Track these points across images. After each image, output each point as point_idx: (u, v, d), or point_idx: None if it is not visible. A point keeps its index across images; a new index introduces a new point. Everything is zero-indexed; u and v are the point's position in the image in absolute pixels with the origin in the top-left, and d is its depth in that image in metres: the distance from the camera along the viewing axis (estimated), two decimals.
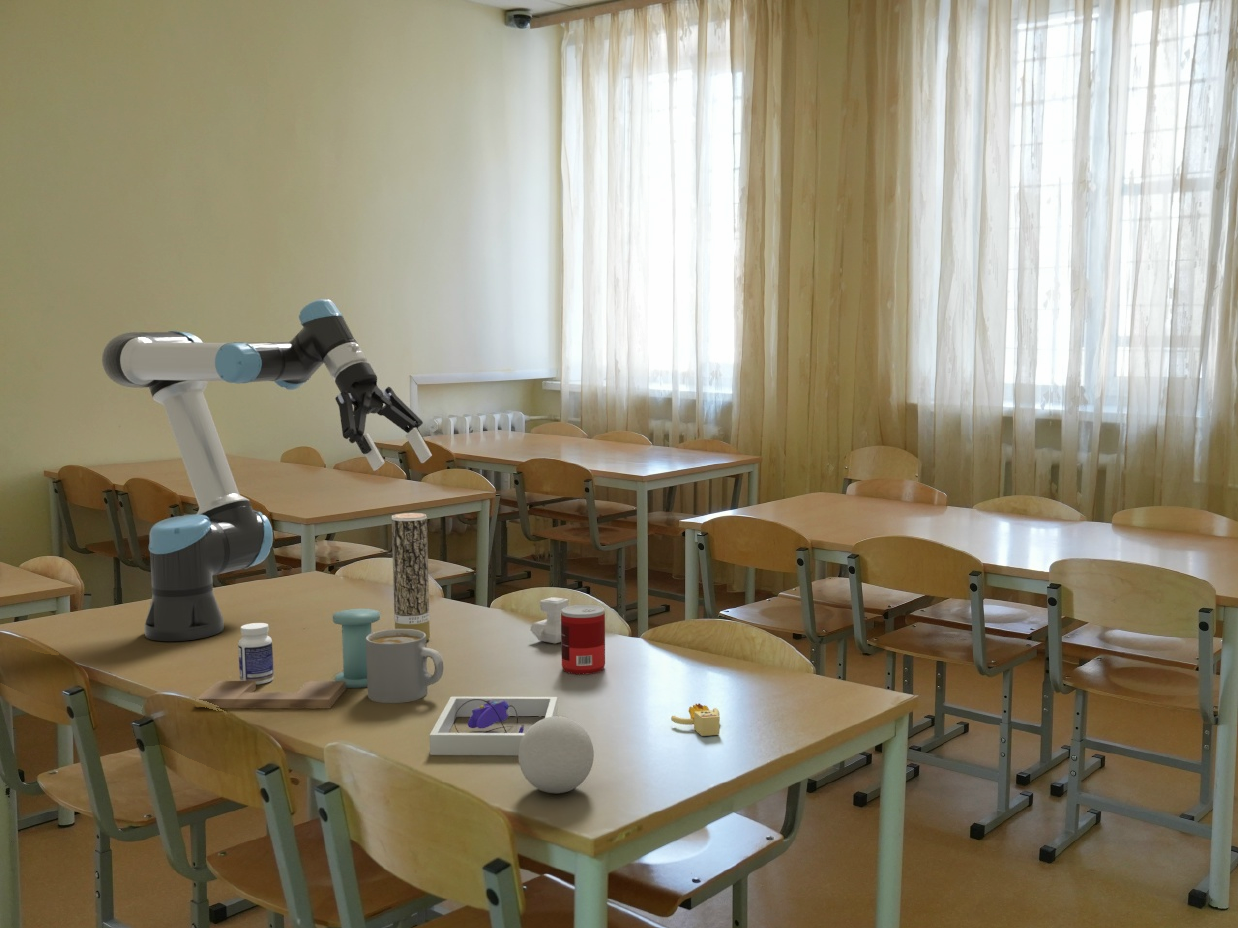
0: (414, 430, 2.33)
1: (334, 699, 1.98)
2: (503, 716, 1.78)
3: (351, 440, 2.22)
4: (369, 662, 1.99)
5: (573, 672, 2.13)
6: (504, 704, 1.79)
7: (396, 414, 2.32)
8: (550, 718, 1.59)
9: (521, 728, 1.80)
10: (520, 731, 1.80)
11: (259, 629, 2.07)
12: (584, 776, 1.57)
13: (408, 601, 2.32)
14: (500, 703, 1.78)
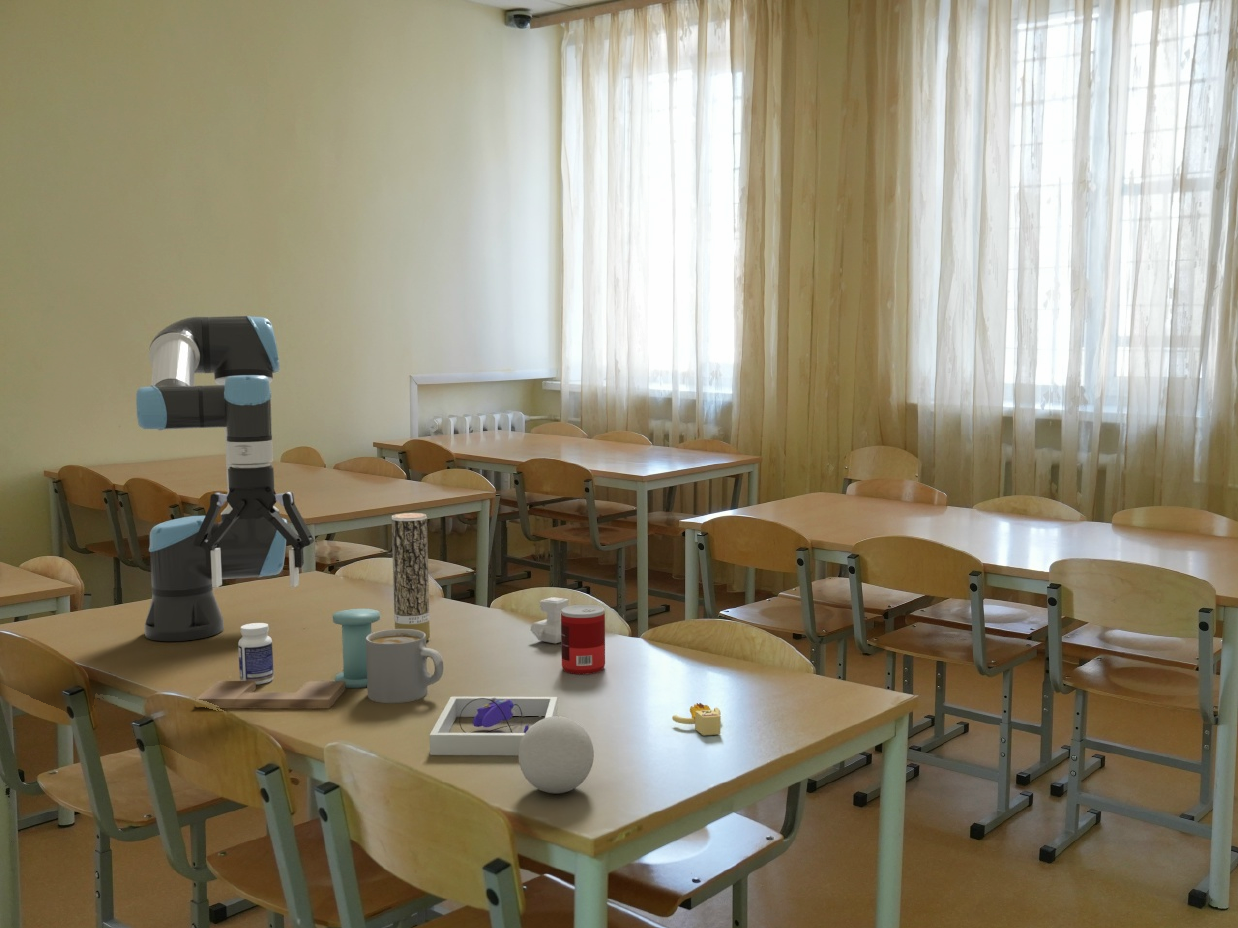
0: (289, 552, 2.07)
1: (334, 699, 1.98)
2: (508, 715, 1.79)
3: None
4: (369, 662, 1.99)
5: (573, 672, 2.13)
6: (509, 703, 1.79)
7: None
8: (550, 718, 1.59)
9: (526, 727, 1.81)
10: (525, 730, 1.81)
11: (259, 629, 2.07)
12: (584, 776, 1.57)
13: (408, 601, 2.32)
14: (505, 702, 1.79)
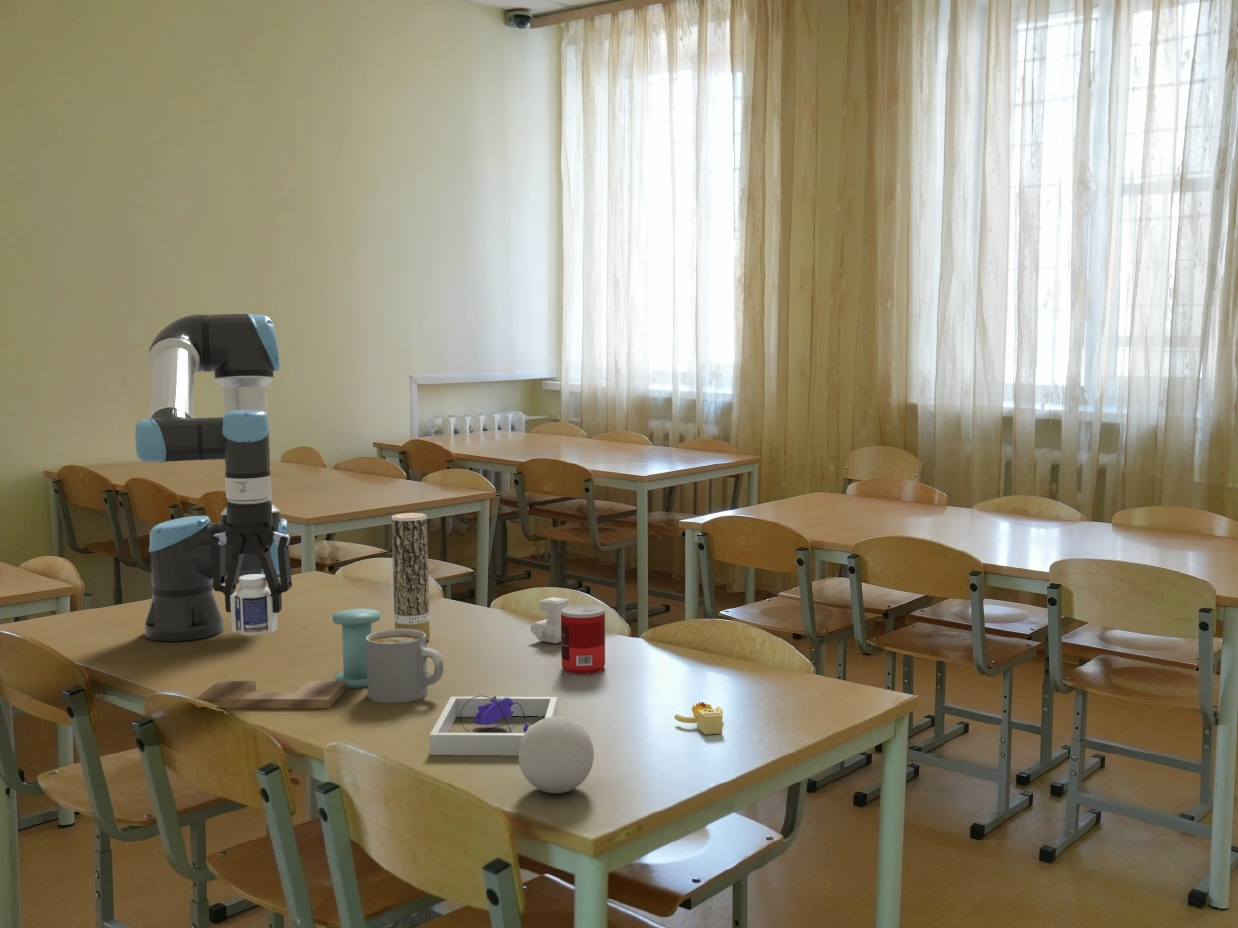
0: (267, 598, 2.08)
1: (334, 699, 1.98)
2: (507, 713, 1.80)
3: None
4: (369, 662, 1.99)
5: (573, 672, 2.13)
6: (508, 701, 1.80)
7: None
8: (550, 718, 1.59)
9: (526, 725, 1.82)
10: (525, 728, 1.81)
11: (257, 580, 2.07)
12: (584, 776, 1.57)
13: (408, 601, 2.32)
14: (504, 700, 1.80)
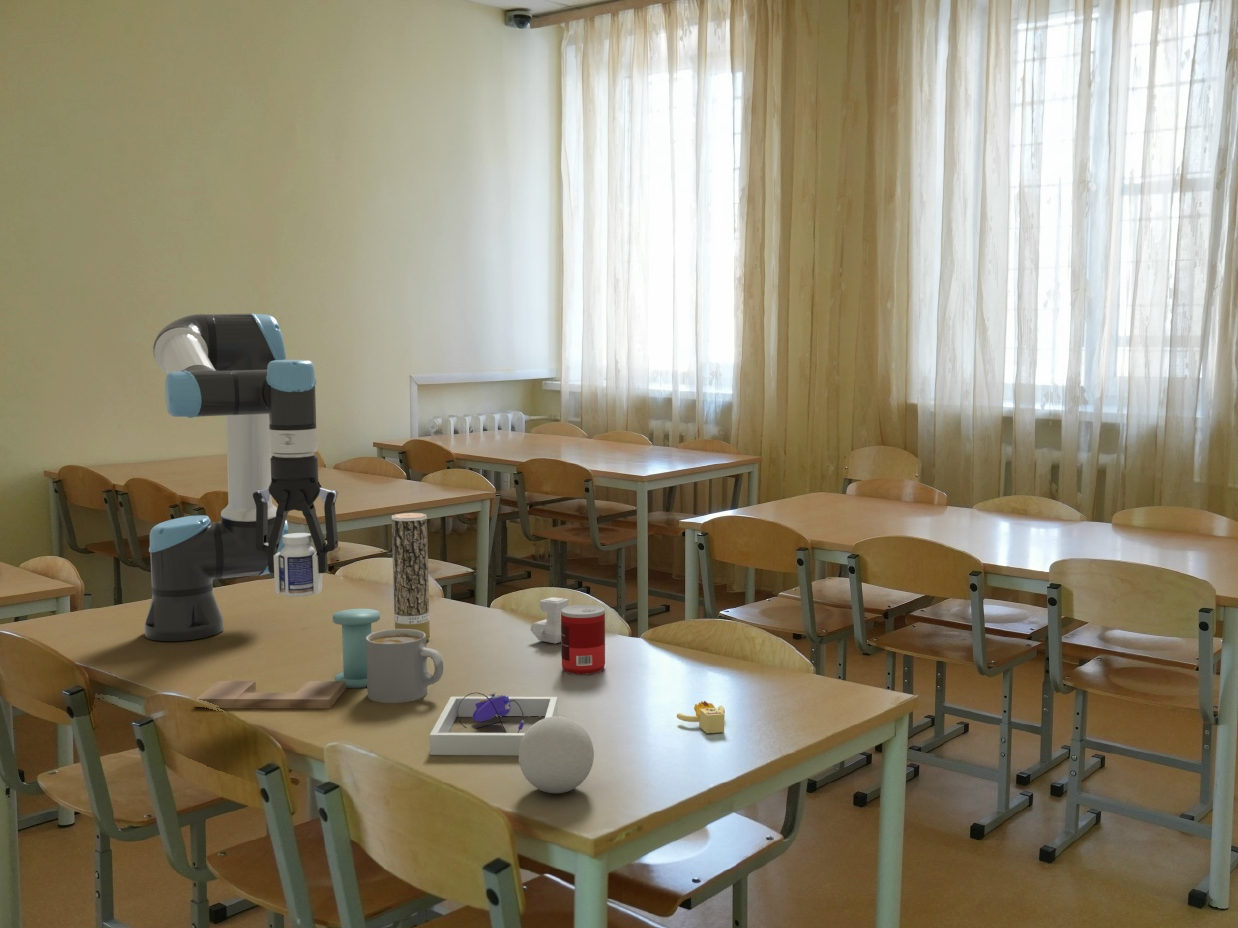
0: None
1: (334, 699, 1.98)
2: (502, 710, 1.81)
3: None
4: (369, 662, 1.99)
5: (573, 672, 2.13)
6: (503, 699, 1.81)
7: None
8: (550, 718, 1.59)
9: (521, 723, 1.83)
10: (520, 726, 1.82)
11: (303, 538, 1.97)
12: (584, 776, 1.57)
13: (408, 601, 2.32)
14: (499, 697, 1.81)
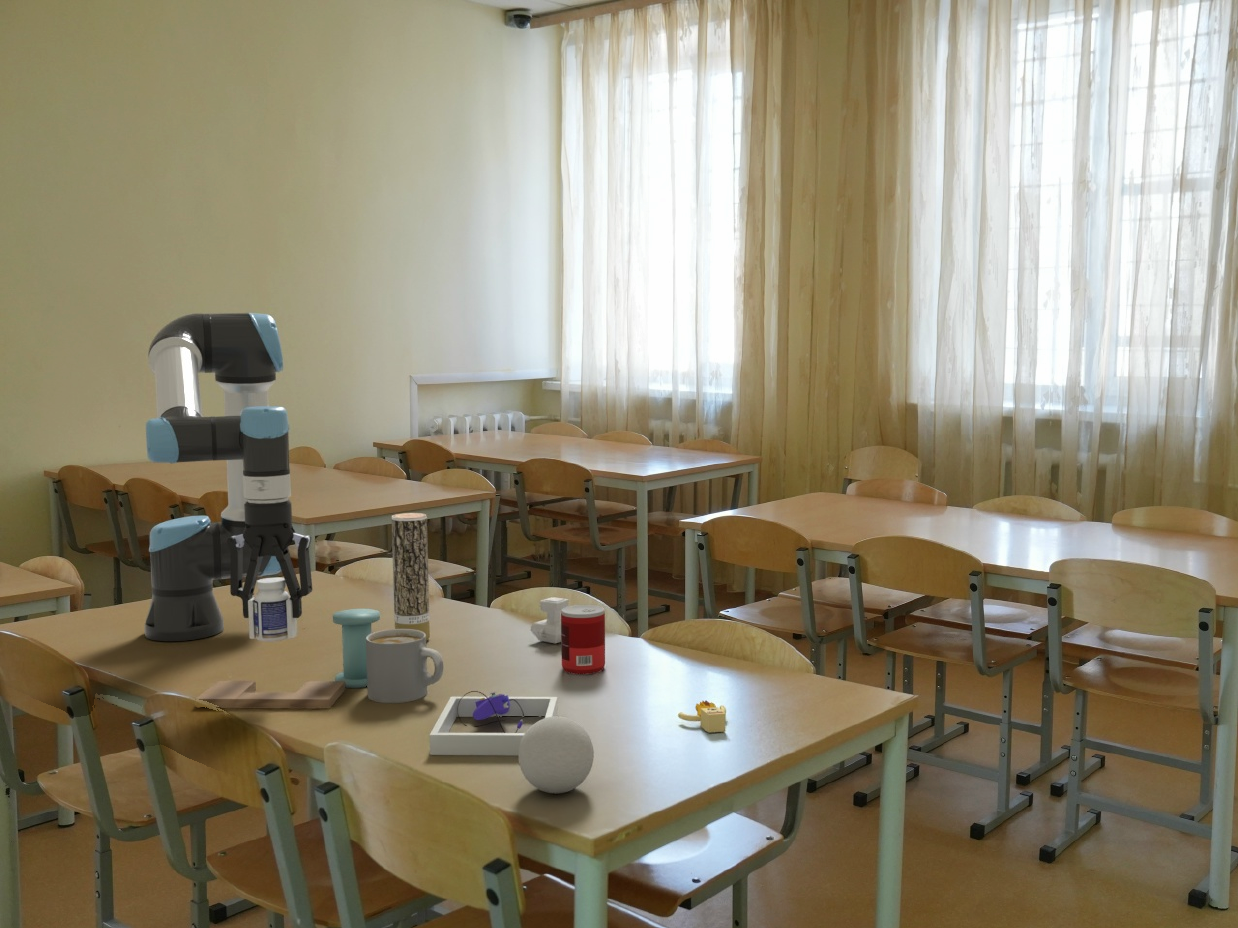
0: None
1: (334, 699, 1.98)
2: (500, 709, 1.81)
3: None
4: (369, 662, 1.99)
5: (573, 672, 2.13)
6: (502, 697, 1.82)
7: None
8: (550, 718, 1.59)
9: (520, 722, 1.83)
10: (518, 725, 1.83)
11: (276, 583, 1.98)
12: (584, 776, 1.57)
13: (408, 601, 2.32)
14: (497, 696, 1.81)
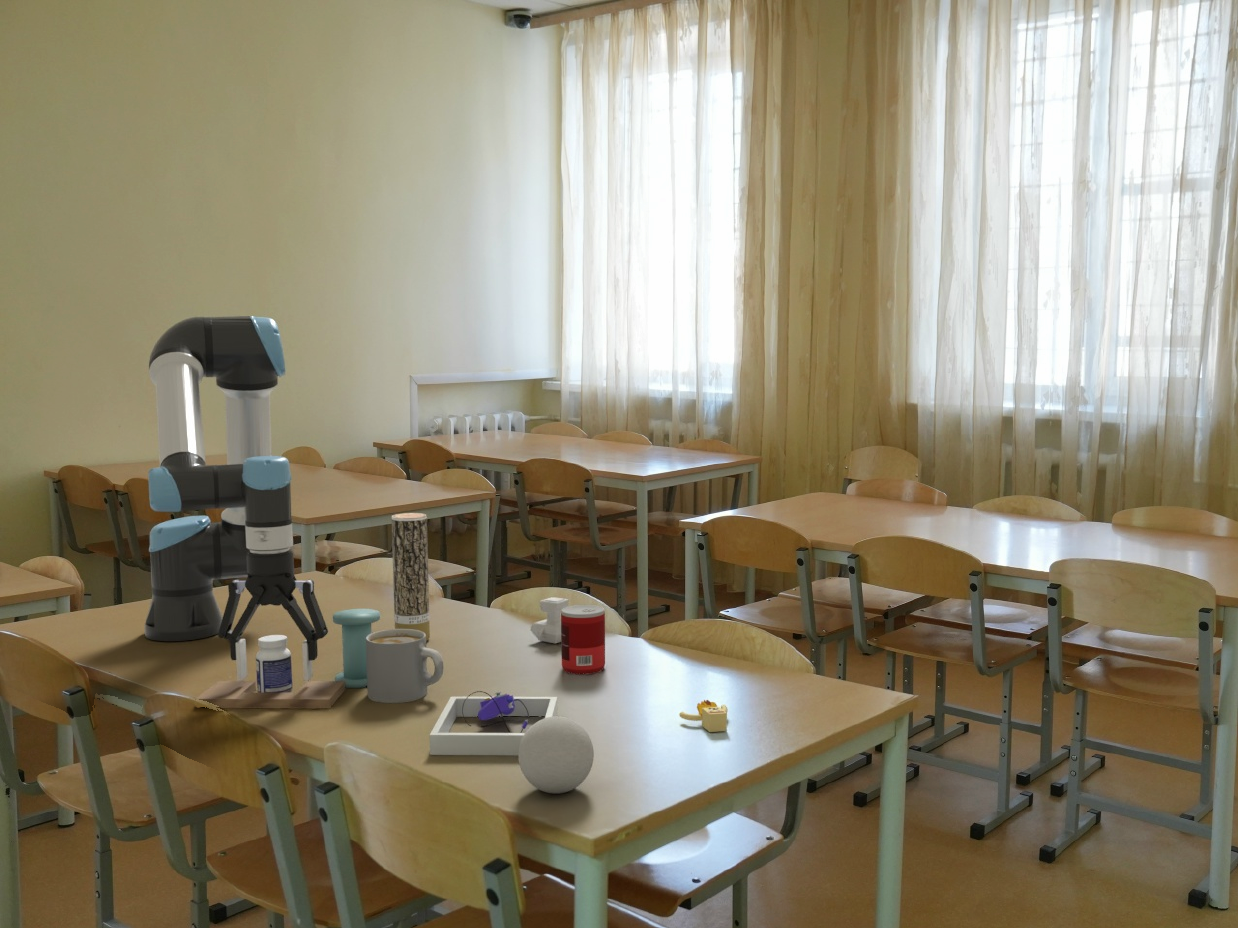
0: None
1: (334, 699, 1.98)
2: (505, 709, 1.81)
3: None
4: (369, 662, 1.99)
5: (573, 672, 2.13)
6: (507, 698, 1.82)
7: None
8: (550, 718, 1.59)
9: (525, 722, 1.83)
10: (523, 725, 1.83)
11: (278, 641, 1.99)
12: (584, 776, 1.57)
13: (408, 601, 2.32)
14: (502, 696, 1.81)
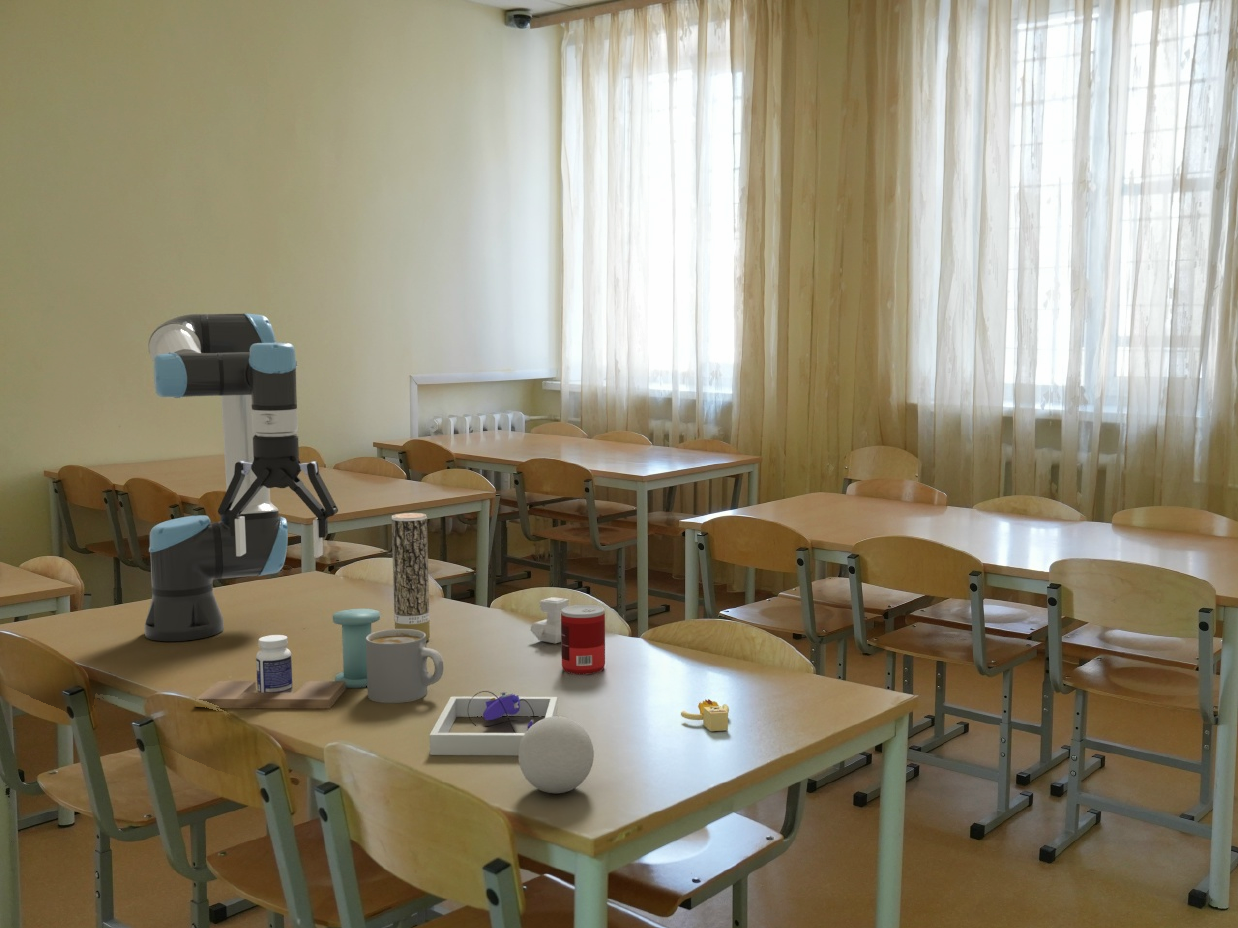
0: (313, 522, 2.05)
1: (334, 699, 1.98)
2: (510, 709, 1.81)
3: None
4: (369, 662, 1.99)
5: (573, 672, 2.13)
6: (512, 698, 1.82)
7: None
8: (550, 718, 1.59)
9: (530, 722, 1.83)
10: (529, 725, 1.83)
11: (278, 641, 1.99)
12: (584, 776, 1.57)
13: (408, 601, 2.32)
14: (508, 696, 1.81)
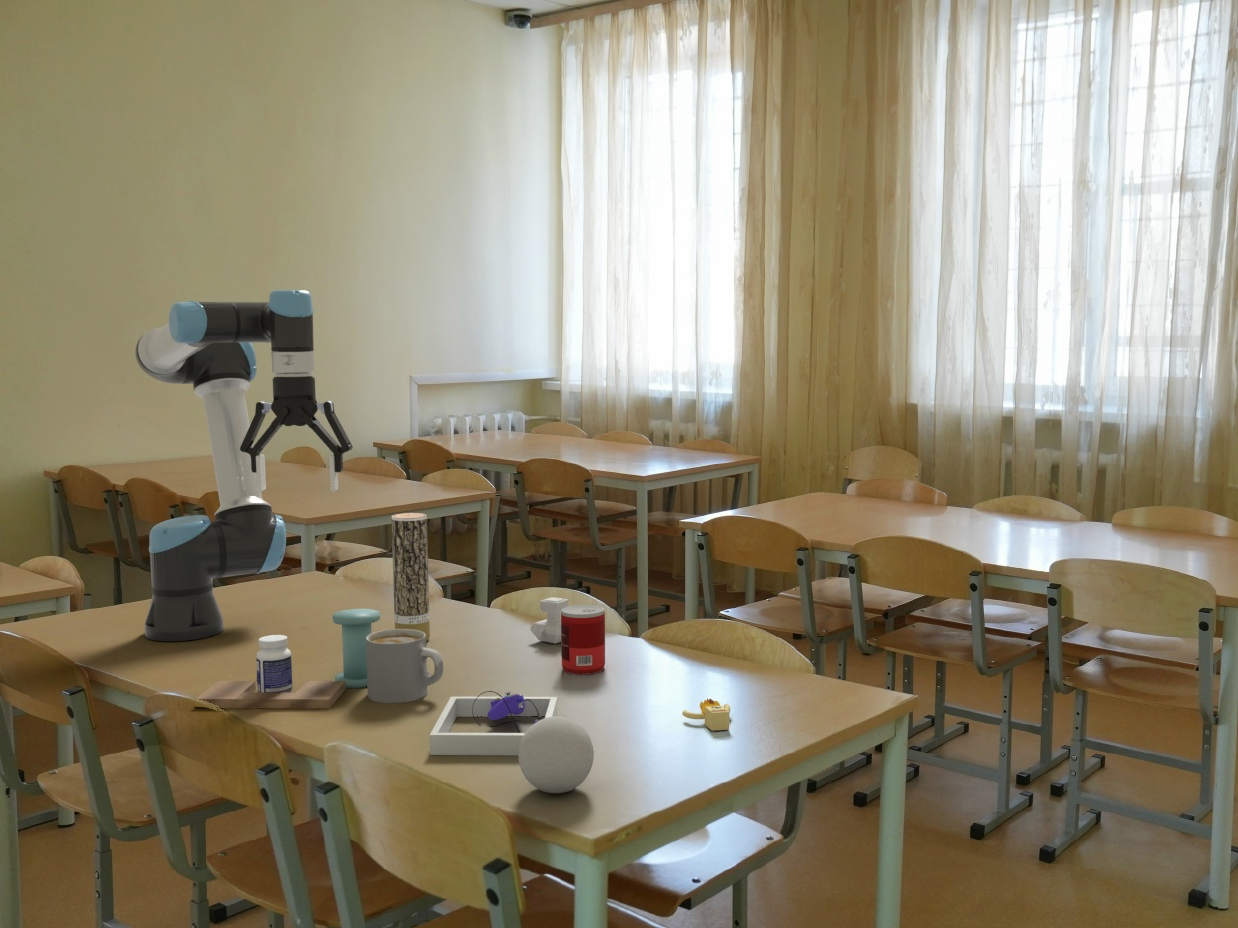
0: None
1: (334, 699, 1.98)
2: (515, 709, 1.81)
3: None
4: (369, 662, 1.99)
5: (573, 672, 2.13)
6: (517, 697, 1.82)
7: None
8: (550, 718, 1.59)
9: (535, 722, 1.83)
10: None
11: (278, 641, 1.99)
12: (584, 776, 1.57)
13: (408, 601, 2.32)
14: (513, 696, 1.81)
